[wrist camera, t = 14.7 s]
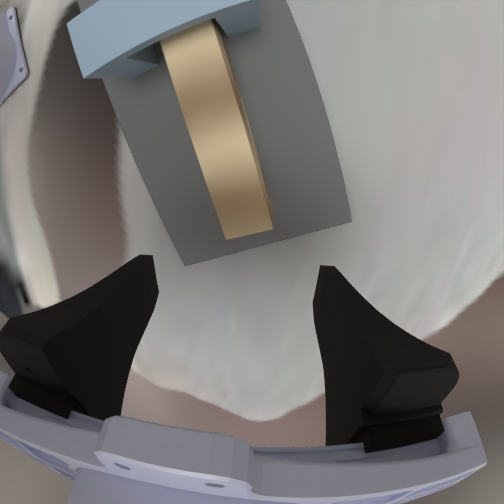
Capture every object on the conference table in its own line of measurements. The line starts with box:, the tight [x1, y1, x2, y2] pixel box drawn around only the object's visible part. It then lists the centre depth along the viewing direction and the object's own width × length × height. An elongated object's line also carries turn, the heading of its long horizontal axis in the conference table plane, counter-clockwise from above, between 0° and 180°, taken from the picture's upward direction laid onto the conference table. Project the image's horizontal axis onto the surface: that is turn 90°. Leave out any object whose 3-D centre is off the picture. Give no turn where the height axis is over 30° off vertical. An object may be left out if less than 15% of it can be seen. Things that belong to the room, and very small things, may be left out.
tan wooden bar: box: [160, 18, 273, 240], centre depth 16 cm, size 17×3×4 cm, turn 15°
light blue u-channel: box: [67, 0, 260, 79], centre depth 12 cm, size 4×9×6 cm, turn 109°
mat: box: [78, 0, 352, 266], centre depth 14 cm, size 40×14×1 cm, turn 19°
